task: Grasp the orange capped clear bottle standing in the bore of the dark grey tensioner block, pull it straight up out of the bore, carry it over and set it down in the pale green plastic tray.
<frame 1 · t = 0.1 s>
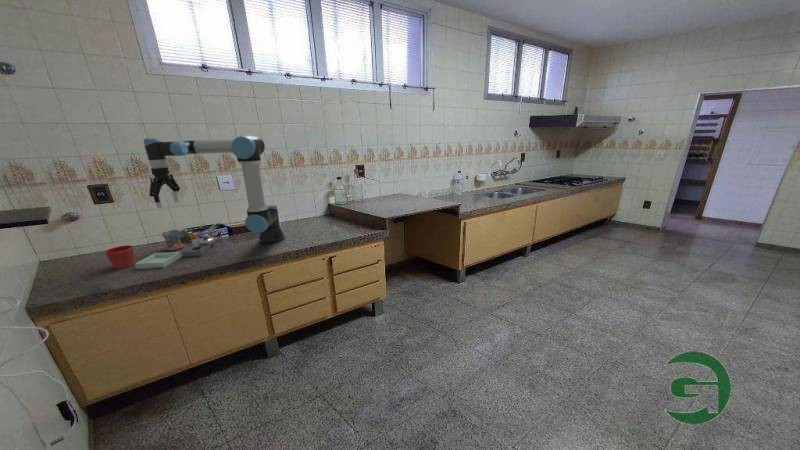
hand: (169, 205, 170), 28 cm above the countertop, fingers open, 13 cm apart
orange capped clear bottle: (197, 253, 173), resting in tensioner block
flower pot: (124, 266, 159), on the countertop
mug: (175, 248, 182), on the countertop
tensioner block: (197, 253, 173), on the countertop
tray: (160, 262, 161), on the countertop
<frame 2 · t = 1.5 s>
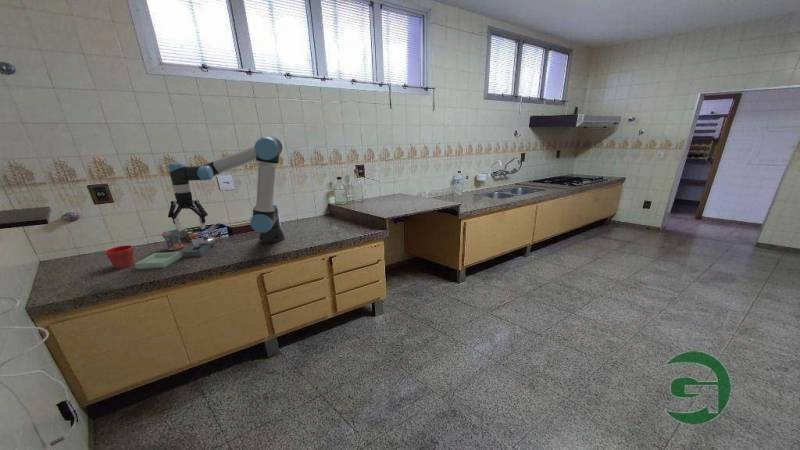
hand: (191, 228, 169), 15 cm above the countertop, fingers open, 13 cm apart
nothing on the countertop moved.
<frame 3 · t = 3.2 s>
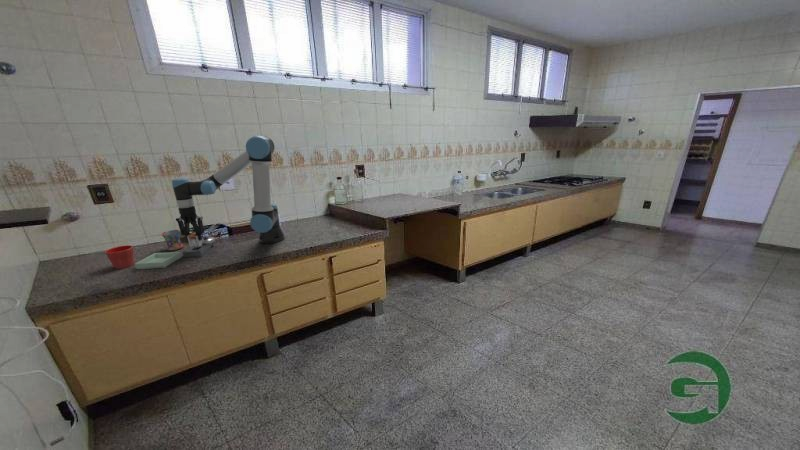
hand: (195, 245, 172), 5 cm above the countertop, fingers closed on orange capped clear bottle, 4 cm apart
orange capped clear bottle: (197, 253, 173), resting in tensioner block, touching gripper
everything else where it was.
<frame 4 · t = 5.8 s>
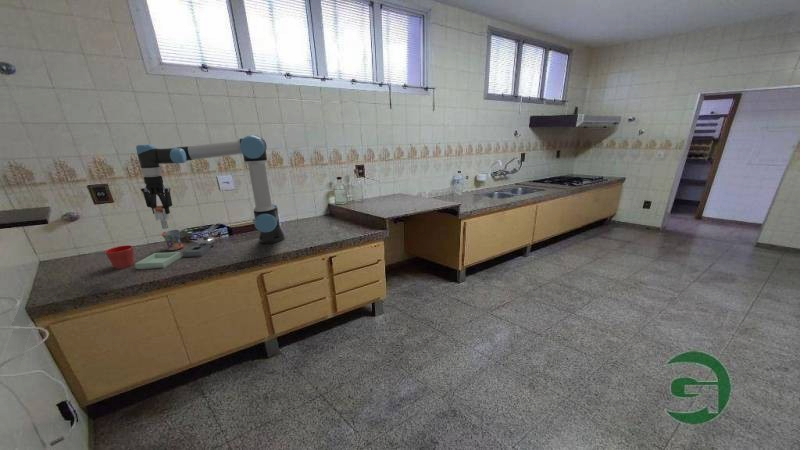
hand: (163, 219, 159), 23 cm above the countertop, fingers closed on orange capped clear bottle, 4 cm apart
orange capped clear bottle: (165, 227, 161), point 18 cm above the countertop, touching gripper
everything else where it was.
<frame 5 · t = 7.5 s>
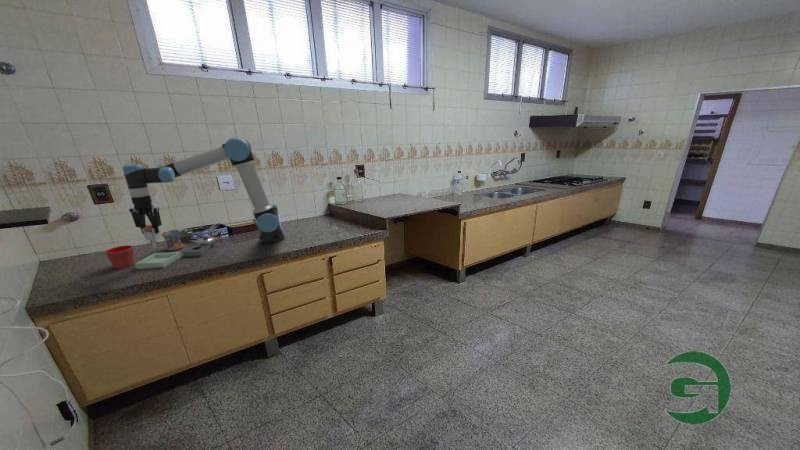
hand: (152, 239, 157), 14 cm above the countertop, fingers closed on orange capped clear bottle, 4 cm apart
orange capped clear bottle: (155, 247, 159), point 9 cm above the countertop, touching gripper
everything else where it was.
when the fingers open (7 cm above the countertop, at t = 8.7 s): orange capped clear bottle drops 2 cm, resting on tray.
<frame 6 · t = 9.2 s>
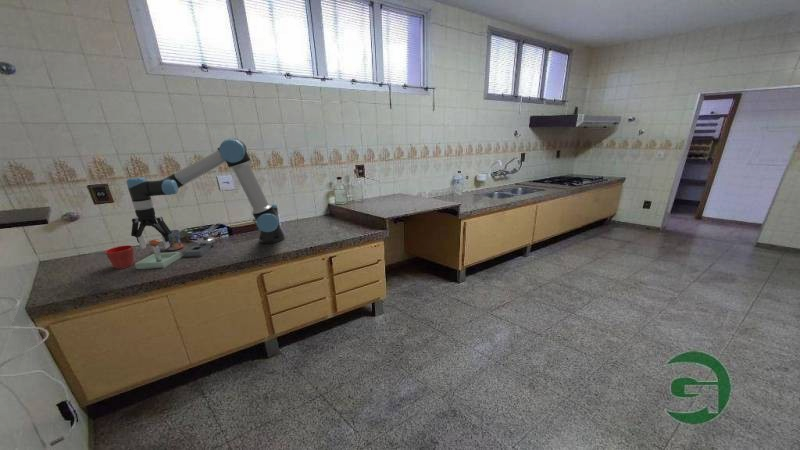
hand: (155, 247, 159), 9 cm above the countertop, fingers open, 11 cm apart
orange capped clear bottle: (159, 261, 161), point 1 cm above the countertop, touching tray
everything else where it was.
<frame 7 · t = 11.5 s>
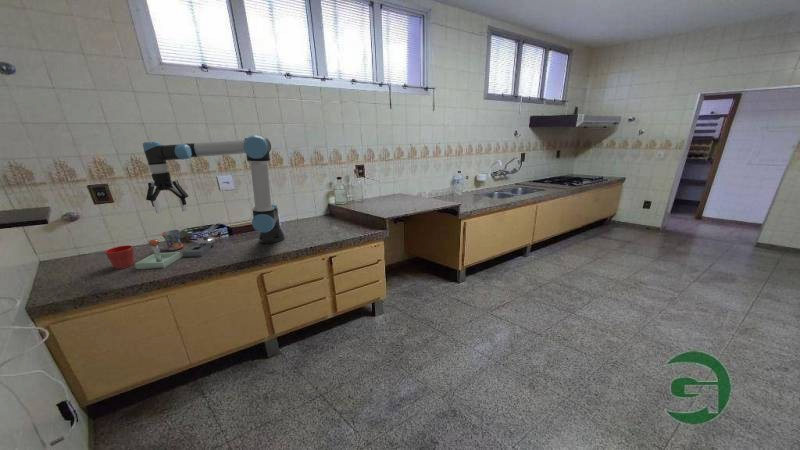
hand: (171, 211, 162), 26 cm above the countertop, fingers open, 13 cm apart
nothing on the countertop moved.
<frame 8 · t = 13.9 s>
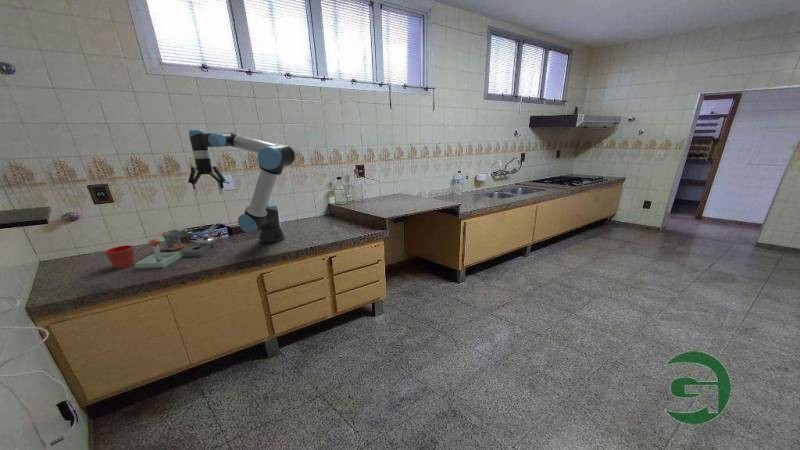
hand: (210, 194, 177), 32 cm above the countertop, fingers open, 13 cm apart
nothing on the countertop moved.
at the end: orange capped clear bottle inside the target area on the tray (0.0 cm from its centre), point 0.8 cm above the tray's base; the gripper is holding nothing; orange capped clear bottle moved 17.7 cm from its start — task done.
